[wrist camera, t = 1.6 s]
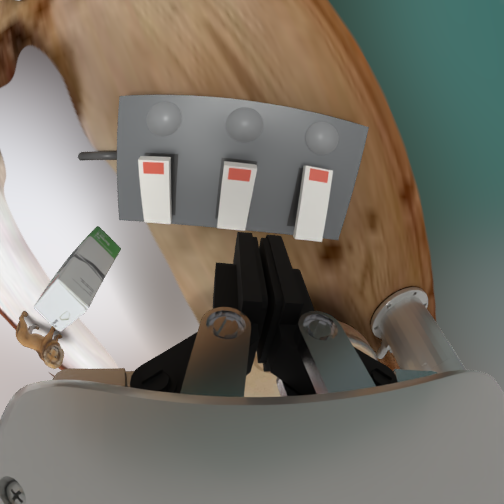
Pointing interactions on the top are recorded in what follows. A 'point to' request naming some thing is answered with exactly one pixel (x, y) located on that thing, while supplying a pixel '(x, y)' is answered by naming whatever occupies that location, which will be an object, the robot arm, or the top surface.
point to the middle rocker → (236, 195)
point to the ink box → (77, 280)
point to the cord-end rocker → (155, 188)
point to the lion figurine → (40, 343)
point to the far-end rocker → (313, 203)
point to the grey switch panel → (233, 157)
